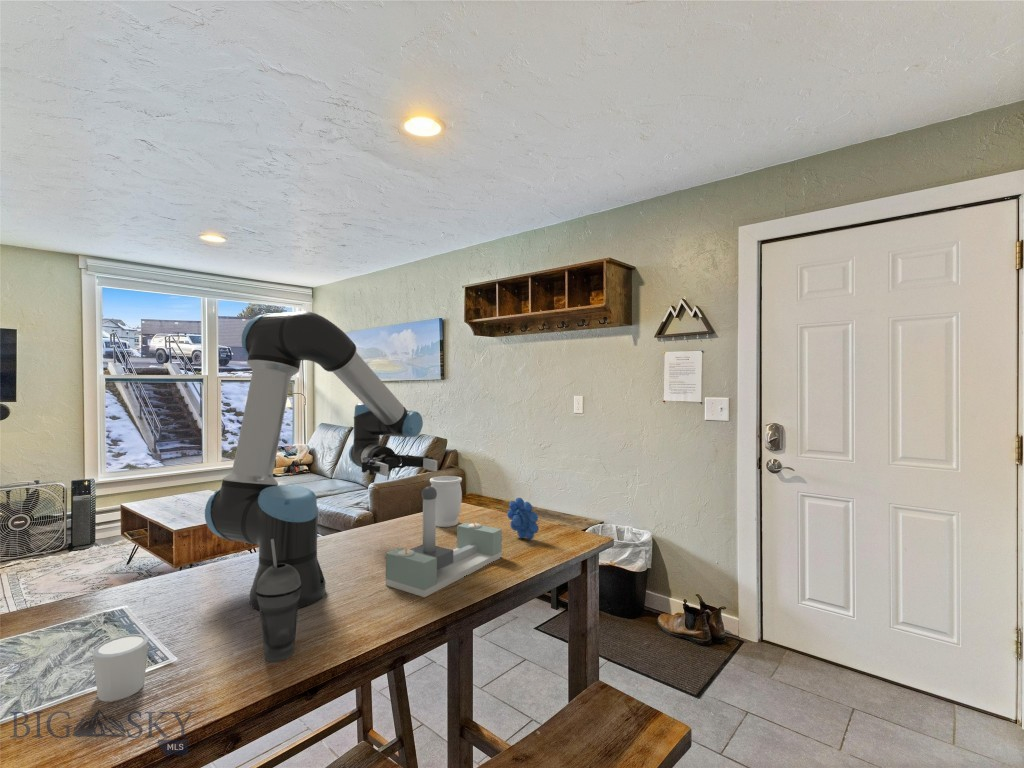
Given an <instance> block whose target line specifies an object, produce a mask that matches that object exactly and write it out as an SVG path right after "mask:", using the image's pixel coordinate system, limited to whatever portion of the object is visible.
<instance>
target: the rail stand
mask: <svg viewBox="0 0 1024 768" xmlns="http://www.w3.org/2000/svg"><path fill="white" fill-rule="evenodd" d="M502 534H503V531H502V529H501V528H496V527H491V526H486V525H482V524H481V523H477V522H473V523H472V522H464V523H461V524H457V525H456V548H453V549H452V550H453V563H452V564H449V565H447V566H445V567H443V568H441V569H439V570H437V558H436V557H432V556H428V555H424V554H420V553H416V552H414V551H413V550H410V549H404V548H400V547H398V548H395V549H392V550H390V551H387V552H385V586H387V587H390V588H393V589H397V590H399V591H402V592H406V593H409V594H412V595H416V596H419V597H422V598H426V597H428V596H430V595H431V594H434V593H435V592H437V591H440V590H441V589H443V588H445V587H447V586H450V585H451V584H453V583H455V582H456V581H459V580H461V579H463V578H464V576H465V577H466V575H467V576H468V575H470V574H472V573H474V572H476V571H478V570H480V569H482V568H484V567H486V566H488V565H490V564H492V563H493V561H494V562H496V561H497V560H499V559H501V558H502V554H503V553H502V552H503V551H502V548H503V547H502V546H503V545H502V543H503V542H502V541H503V539H502V537H503V535H502ZM500 557H501V558H500ZM491 562H492V563H491ZM489 563H490V564H489ZM487 564H488V565H487ZM485 565H486V566H485ZM483 566H484V567H483Z"/></svg>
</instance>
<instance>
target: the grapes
mask: <svg viewBox="0 0 1024 768" xmlns="http://www.w3.org/2000/svg"><path fill="white" fill-rule="evenodd" d="M508 506H509V509H508V511H507V513H506V515H507V518H508V520H511V521H510V525H509V526H510V528H511V530H512V531H515V532H516V531H517V532H516V533H517V536H518V538H520V539H522V538H523V539H525V538H526V539H527V540H533V539H534V537H535V534H537V533H538V532H539V524H537V522H538V521H539V515H538V514H537V513H536V512H535V511H533V506H532V504H531V503H530V502H529V501H524V500H523V498H522V497H517V498H516V499H515V500H511V501H510V502H509V504H508Z"/></svg>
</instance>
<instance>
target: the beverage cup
mask: <svg viewBox="0 0 1024 768" xmlns="http://www.w3.org/2000/svg"><path fill="white" fill-rule="evenodd" d="M271 547H272V555H273V564H274V565H273V566H271V567H269V568H268V569H266V570H265V571H264V572H263V574H262V575H261V577H260V578H259V581H258V584H257V589H256V595H257V600H258V605H259V607H260V610H259V618H260V624H261V625H260V626H261V627H260V628H261V635H262V647H263V654H264V659H265V661H267V662H269V663H279V662H282V661H285V660H288V659H290V658H291V656H293V655H294V649H295V644H296V643H295V642H296V635H297V634H296V631H297V622H298V611H299V608H298V600H299V597H300V592H301V587H302V584H301V580H300V575H299V573H298V572H297V570H296V569H295V568H294V567H292V566H291V565H288V564H284V563H280V564H277V562H276V553H275V545H274V539H271Z"/></svg>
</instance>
